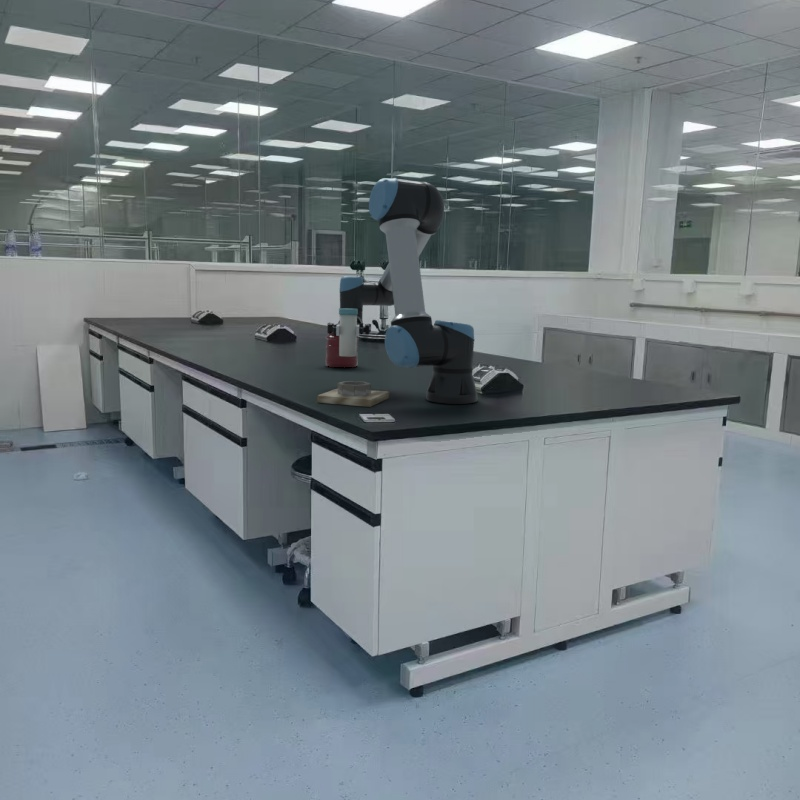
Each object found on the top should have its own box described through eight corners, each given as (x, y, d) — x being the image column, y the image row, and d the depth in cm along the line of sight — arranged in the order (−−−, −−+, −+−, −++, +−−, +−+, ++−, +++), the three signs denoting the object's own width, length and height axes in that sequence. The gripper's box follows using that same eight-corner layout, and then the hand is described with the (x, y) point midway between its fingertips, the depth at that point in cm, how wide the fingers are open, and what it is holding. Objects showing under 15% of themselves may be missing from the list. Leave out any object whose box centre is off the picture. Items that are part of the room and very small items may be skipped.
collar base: (388, 398, 211) (389, 381, 210) (370, 406, 196) (370, 388, 195) (339, 394, 216) (339, 378, 215) (317, 402, 201) (317, 384, 200)
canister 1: (359, 355, 209) (360, 308, 207) (353, 357, 204) (353, 309, 202) (342, 354, 211) (343, 308, 208) (335, 356, 206) (336, 308, 203)
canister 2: (353, 368, 277) (354, 323, 274) (321, 367, 279) (321, 322, 276) (360, 365, 290) (361, 321, 287) (329, 363, 292) (330, 320, 289)
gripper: (378, 338, 225) (379, 344, 202) (321, 337, 224) (315, 343, 201) (378, 314, 224) (379, 318, 201) (321, 313, 223) (315, 317, 200)
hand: (347, 331), depth 201 cm, fingers closed on canister 1, 5 cm apart
